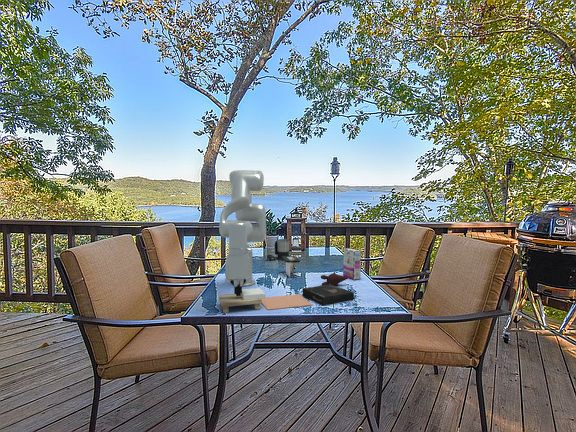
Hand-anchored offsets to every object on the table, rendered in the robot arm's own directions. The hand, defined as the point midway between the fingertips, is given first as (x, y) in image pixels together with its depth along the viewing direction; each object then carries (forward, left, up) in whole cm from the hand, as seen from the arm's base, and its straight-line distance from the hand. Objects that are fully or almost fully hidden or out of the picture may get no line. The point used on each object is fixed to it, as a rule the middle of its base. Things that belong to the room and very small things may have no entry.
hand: (238, 295), depth 140 cm
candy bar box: (-31, +72, -5) cm, 78 cm away
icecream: (-19, +55, -5) cm, 58 cm away
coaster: (0, +6, -1) cm, 6 cm away
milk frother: (-97, +47, -5) cm, 108 cm away
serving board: (0, +1, -5) cm, 5 cm away
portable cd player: (0, +42, -6) cm, 42 cm away
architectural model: (-49, +41, -6) cm, 64 cm away
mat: (0, +21, -5) cm, 21 cm away
